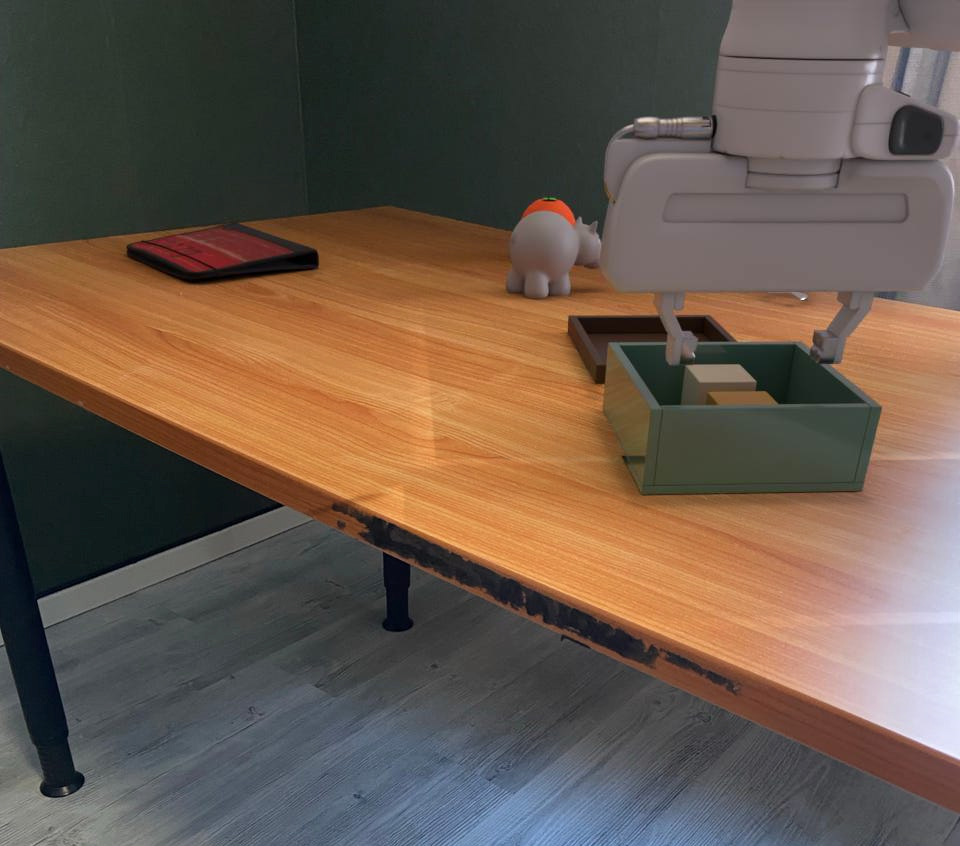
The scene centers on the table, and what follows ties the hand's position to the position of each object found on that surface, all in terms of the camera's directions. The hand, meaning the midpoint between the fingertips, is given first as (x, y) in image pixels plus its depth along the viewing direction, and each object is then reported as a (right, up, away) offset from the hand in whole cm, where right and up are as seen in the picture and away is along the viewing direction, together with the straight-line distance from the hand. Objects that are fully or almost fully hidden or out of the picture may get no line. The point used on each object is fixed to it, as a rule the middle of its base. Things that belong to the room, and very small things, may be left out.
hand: (752, 362), depth 63 cm
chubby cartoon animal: (-9, +20, +45) cm, 50 cm away
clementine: (-9, +30, +61) cm, 69 cm away
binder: (-49, +28, +57) cm, 80 cm away
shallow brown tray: (-2, +7, +24) cm, 25 cm away
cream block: (0, -2, +9) cm, 9 cm away
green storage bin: (0, -4, +6) cm, 8 cm away
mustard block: (0, -6, +4) cm, 6 cm away
